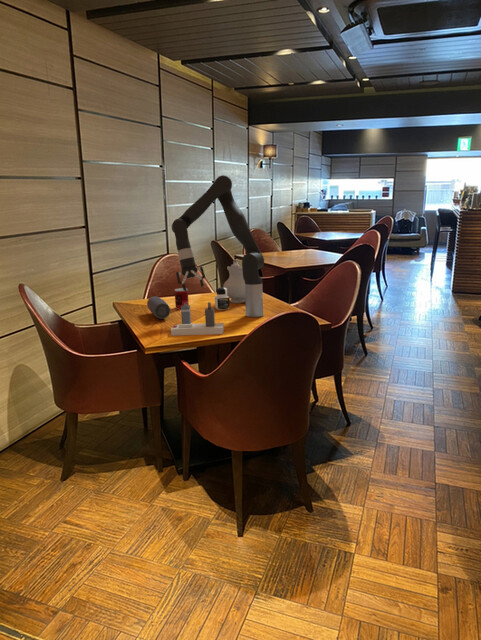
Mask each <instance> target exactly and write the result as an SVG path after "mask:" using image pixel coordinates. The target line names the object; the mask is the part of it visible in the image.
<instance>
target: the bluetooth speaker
mask: <svg viewBox="0 0 481 640" xmlns="http://www.w3.org/2000/svg"><path fill="white" fill-rule="evenodd" d="M146 306H147V308H148V310H149V312H151V313H152V315H154V316H155V318H157V319H159V320H160V319H167V318H168V317H169V316H170V315H171V307H170V305H169V304H168V302H166V301H165V300H164V299H163V298H161V297H159V296H156V295H155V296H151V297H149V298H148V300H147V302H146Z"/></svg>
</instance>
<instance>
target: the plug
mask: <svg viewBox="0 0 481 640" xmlns="http://www.w3.org/2000/svg"><path fill="white" fill-rule="evenodd" d="M180 316H181V317H180V318H181V324H192V318H191V305H185V306H181V309H180Z"/></svg>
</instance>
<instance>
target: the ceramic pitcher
mask: <svg viewBox="0 0 481 640" xmlns="http://www.w3.org/2000/svg"><path fill="white" fill-rule="evenodd" d="M232 262H233V264H230V266H228V265H227V268H226V269H227V271H228V273H229V276H228V279H227V280H226V281H225V282H224V283H223V287H222V288H227V296H229V297H230V303H232V304H241V303H245V281H244V278H243V272H242V265H239V262H238V260H237V259H233V261H232Z"/></svg>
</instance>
